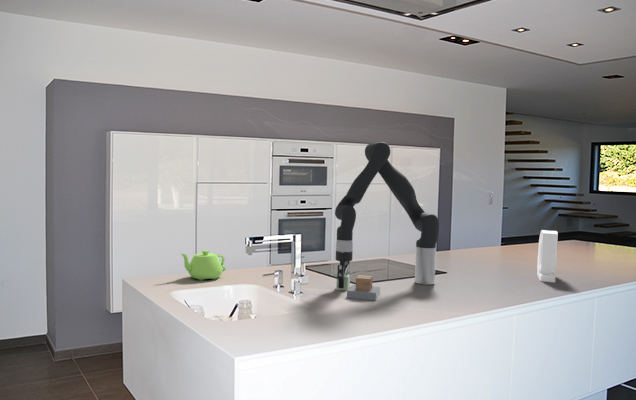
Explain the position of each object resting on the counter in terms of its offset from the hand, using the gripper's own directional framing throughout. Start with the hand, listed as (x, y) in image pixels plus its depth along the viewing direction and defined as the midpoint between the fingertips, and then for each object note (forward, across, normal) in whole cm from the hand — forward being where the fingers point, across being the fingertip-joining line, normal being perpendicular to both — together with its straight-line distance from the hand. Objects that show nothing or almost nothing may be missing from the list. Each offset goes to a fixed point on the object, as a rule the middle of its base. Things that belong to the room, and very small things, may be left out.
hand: (343, 286), depth 233 cm
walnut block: (-2, +10, +11) cm, 15 cm away
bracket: (+1, -62, +93) cm, 112 cm away
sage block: (+1, 0, 0) cm, 1 cm away
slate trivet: (+1, +10, +11) cm, 15 cm away
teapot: (+2, +3, -67) cm, 67 cm away
